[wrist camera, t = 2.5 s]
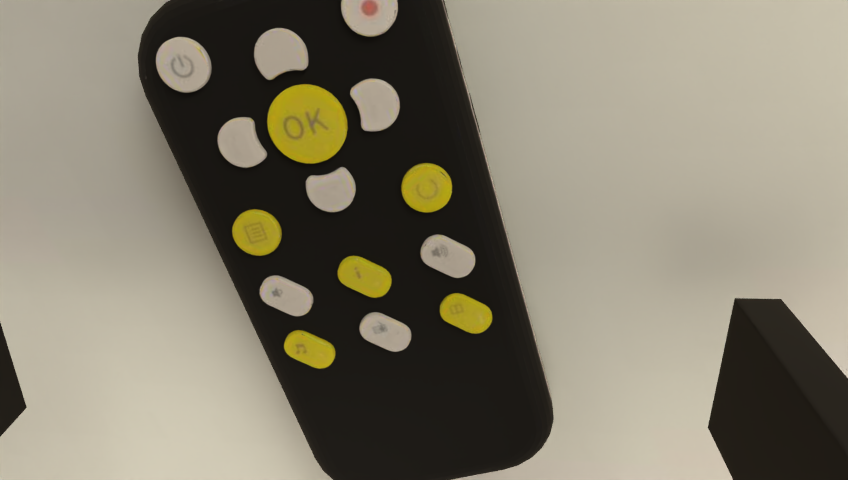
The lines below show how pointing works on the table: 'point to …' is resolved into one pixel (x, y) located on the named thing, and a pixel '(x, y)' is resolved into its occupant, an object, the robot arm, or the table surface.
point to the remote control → (356, 226)
